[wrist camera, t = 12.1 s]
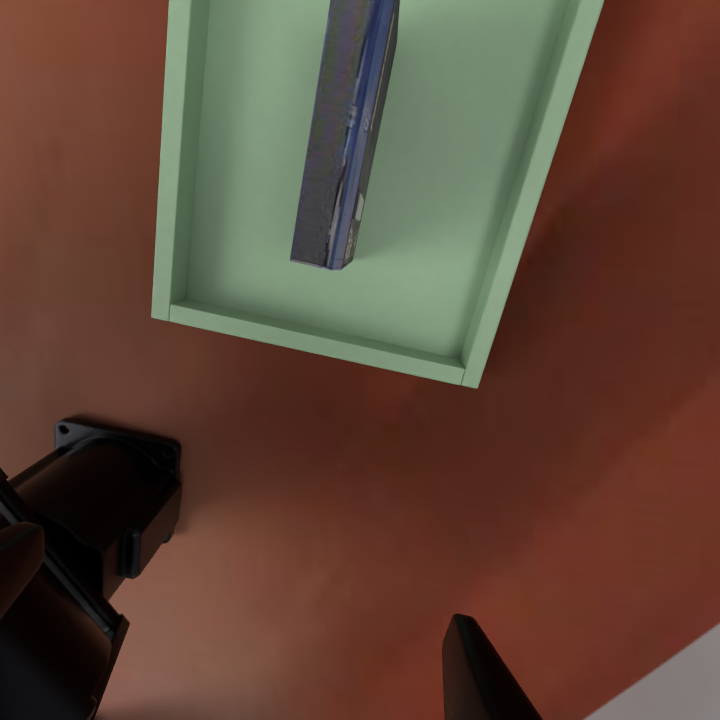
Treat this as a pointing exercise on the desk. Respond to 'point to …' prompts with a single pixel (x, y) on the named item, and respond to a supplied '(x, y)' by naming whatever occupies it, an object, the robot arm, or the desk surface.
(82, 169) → the desk surface
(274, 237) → the tray
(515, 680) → the robot arm
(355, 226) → the mini dv tape
